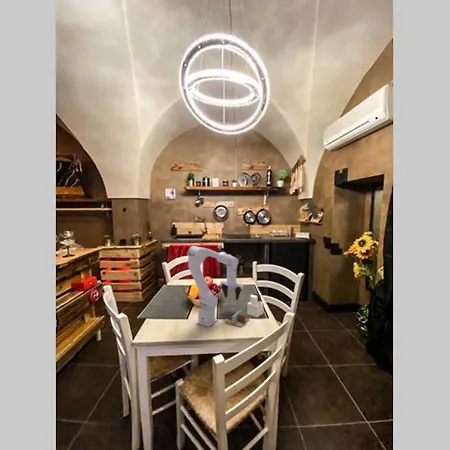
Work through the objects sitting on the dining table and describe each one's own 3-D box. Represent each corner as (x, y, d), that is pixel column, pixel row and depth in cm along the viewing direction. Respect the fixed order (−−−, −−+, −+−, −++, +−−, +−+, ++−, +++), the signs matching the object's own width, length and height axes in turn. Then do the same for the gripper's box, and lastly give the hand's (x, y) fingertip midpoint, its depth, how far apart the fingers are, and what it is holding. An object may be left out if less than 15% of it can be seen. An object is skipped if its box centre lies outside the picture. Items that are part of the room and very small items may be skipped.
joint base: (241, 327, 137) (241, 318, 137) (224, 323, 142) (224, 314, 142) (248, 320, 146) (248, 312, 146) (233, 316, 151) (233, 308, 151)
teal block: (234, 323, 140) (234, 316, 140) (232, 323, 141) (232, 316, 140) (242, 316, 149) (242, 310, 148) (240, 316, 149) (240, 309, 149)
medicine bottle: (253, 310, 159) (253, 291, 158) (263, 313, 154) (263, 294, 153) (247, 314, 153) (247, 295, 152) (257, 317, 149) (257, 297, 148)
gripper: (245, 276, 153) (245, 298, 154) (224, 272, 160) (224, 293, 161) (240, 279, 147) (239, 302, 148) (218, 275, 154) (218, 297, 155)
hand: (231, 298), depth 154 cm, fingers open, 7 cm apart
